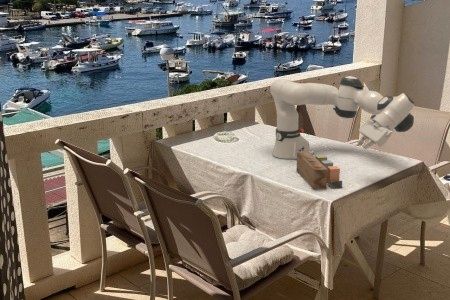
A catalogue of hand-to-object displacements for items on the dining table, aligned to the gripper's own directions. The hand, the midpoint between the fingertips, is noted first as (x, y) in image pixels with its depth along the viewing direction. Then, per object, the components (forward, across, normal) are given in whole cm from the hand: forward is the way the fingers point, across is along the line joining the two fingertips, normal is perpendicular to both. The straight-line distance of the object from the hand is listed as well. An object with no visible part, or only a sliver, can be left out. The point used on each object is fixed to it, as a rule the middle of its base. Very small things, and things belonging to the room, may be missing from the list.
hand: (361, 146), depth 257 cm
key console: (+24, +8, 0) cm, 26 cm away
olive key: (+21, +17, -4) cm, 27 cm away
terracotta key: (+21, 0, -4) cm, 21 cm away
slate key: (+21, +8, -4) cm, 23 cm away
